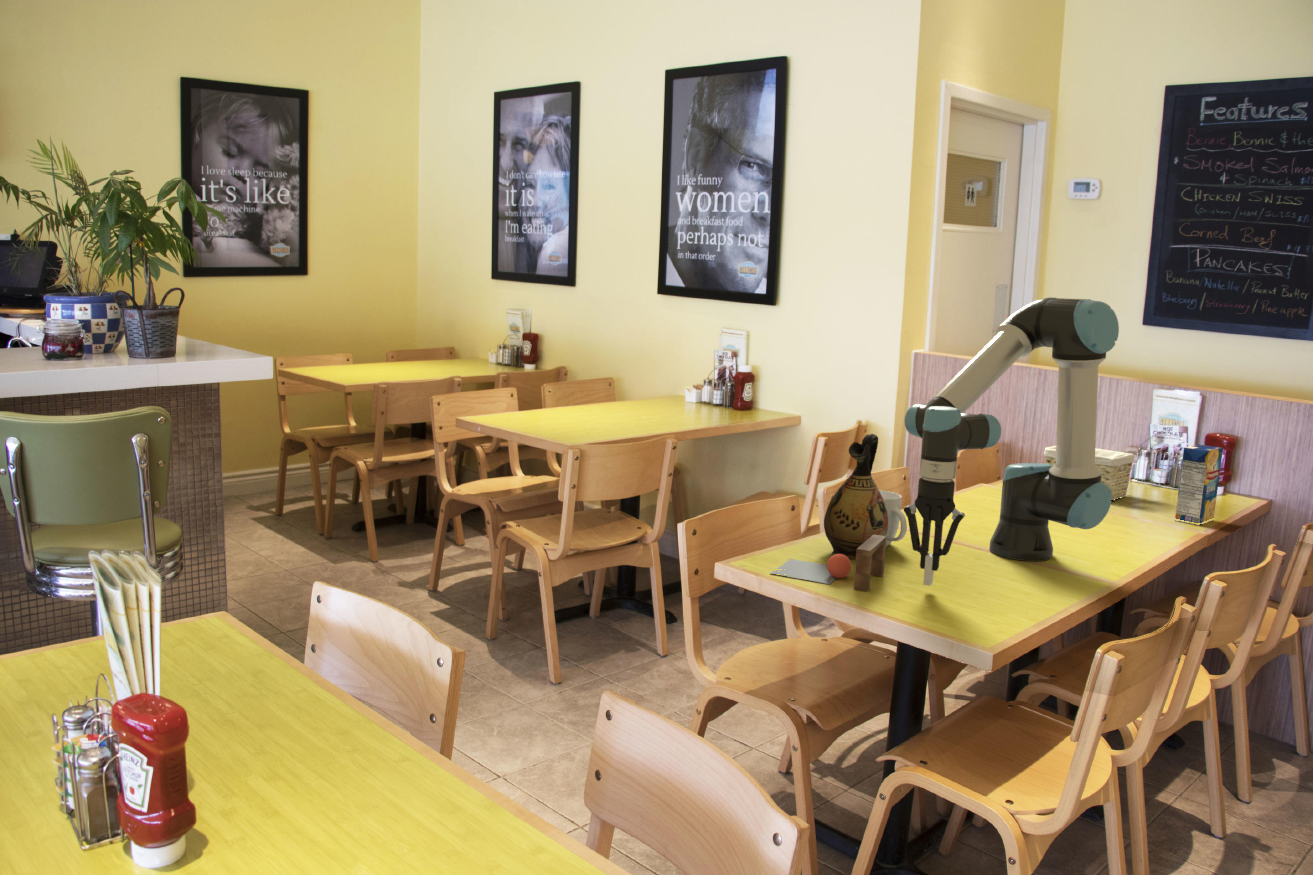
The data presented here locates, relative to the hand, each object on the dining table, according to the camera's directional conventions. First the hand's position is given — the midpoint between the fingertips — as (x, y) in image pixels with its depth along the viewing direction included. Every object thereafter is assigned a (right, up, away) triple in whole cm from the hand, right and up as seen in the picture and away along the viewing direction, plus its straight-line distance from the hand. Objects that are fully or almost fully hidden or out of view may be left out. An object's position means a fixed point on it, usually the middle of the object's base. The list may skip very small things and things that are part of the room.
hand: (927, 583), depth 226 cm
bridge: (-12, 0, +6) cm, 13 cm away
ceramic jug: (-11, +3, +28) cm, 30 cm away
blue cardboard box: (+99, +7, +78) cm, 127 cm away
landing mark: (-24, +1, +12) cm, 27 cm away
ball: (-18, +3, +8) cm, 20 cm away
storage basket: (+80, +13, +110) cm, 137 cm away
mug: (-3, +4, +38) cm, 38 cm away
